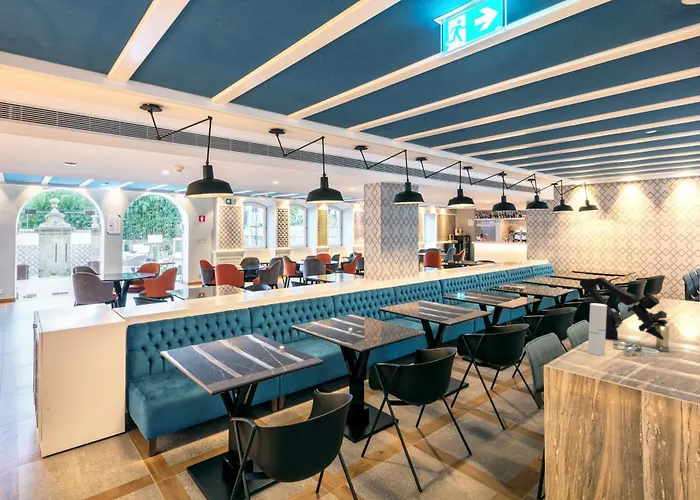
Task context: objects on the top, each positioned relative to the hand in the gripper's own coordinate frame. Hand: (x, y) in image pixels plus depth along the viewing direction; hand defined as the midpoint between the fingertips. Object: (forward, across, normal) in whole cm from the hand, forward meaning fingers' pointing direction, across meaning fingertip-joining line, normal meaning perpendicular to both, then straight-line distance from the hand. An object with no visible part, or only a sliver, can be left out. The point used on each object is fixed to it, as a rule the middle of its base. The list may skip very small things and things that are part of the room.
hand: (665, 338), depth 202 cm
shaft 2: (+2, -24, +7) cm, 26 cm away
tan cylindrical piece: (+4, 0, +6) cm, 7 cm away
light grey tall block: (-4, -39, +14) cm, 41 cm away
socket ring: (+4, -14, +6) cm, 16 cm away
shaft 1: (-3, -18, +12) cm, 23 cm away
